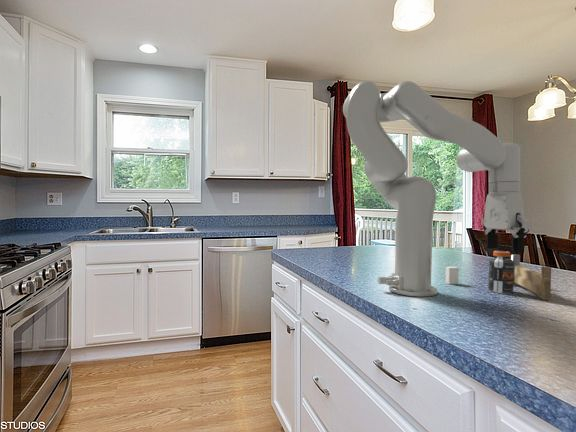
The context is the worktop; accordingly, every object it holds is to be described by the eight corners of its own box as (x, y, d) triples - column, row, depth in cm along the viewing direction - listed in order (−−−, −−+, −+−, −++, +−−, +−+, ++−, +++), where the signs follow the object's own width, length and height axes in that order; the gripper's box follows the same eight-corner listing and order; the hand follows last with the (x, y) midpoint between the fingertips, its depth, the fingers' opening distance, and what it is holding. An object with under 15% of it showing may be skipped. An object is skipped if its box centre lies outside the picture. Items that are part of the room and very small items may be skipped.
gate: (514, 283, 106) (515, 257, 105) (520, 284, 105) (520, 257, 105) (543, 299, 88) (544, 267, 88) (550, 299, 88) (551, 267, 88)
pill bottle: (504, 294, 94) (505, 253, 94) (483, 290, 99) (484, 250, 99) (517, 292, 97) (518, 251, 97) (496, 288, 102) (497, 249, 102)
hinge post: (513, 286, 105) (514, 256, 104) (501, 282, 110) (501, 253, 109) (528, 285, 105) (529, 256, 105) (515, 282, 110) (516, 253, 110)
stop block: (449, 284, 106) (449, 267, 106) (445, 282, 108) (445, 266, 108) (458, 284, 107) (458, 267, 107) (454, 282, 109) (454, 266, 109)
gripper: (471, 190, 105) (471, 247, 106) (515, 187, 88) (515, 255, 89) (494, 190, 106) (494, 246, 107) (542, 187, 89) (542, 253, 90)
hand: (504, 250), depth 98 cm, fingers open, 9 cm apart
